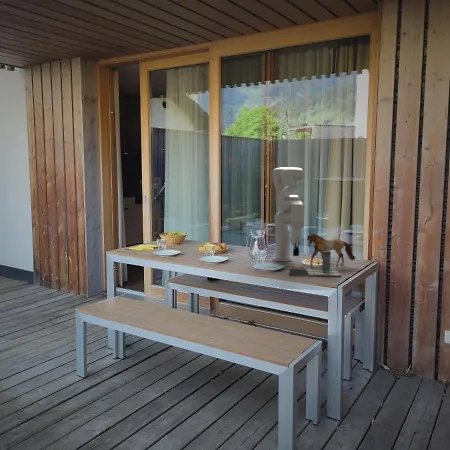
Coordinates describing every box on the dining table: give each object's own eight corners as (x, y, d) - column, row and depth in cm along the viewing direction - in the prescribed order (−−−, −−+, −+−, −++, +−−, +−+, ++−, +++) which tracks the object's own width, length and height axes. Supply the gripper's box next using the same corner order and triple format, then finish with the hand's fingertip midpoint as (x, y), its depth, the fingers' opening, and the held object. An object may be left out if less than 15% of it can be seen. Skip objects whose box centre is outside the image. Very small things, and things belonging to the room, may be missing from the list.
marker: (321, 271, 271) (322, 250, 269) (329, 271, 270) (330, 250, 269) (322, 273, 266) (323, 252, 264) (330, 273, 266) (331, 252, 264)
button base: (289, 271, 273) (289, 265, 273) (304, 271, 273) (304, 266, 272) (290, 275, 264) (290, 269, 264) (306, 275, 264) (306, 269, 263)
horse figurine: (306, 268, 282) (307, 234, 279) (303, 265, 289) (303, 232, 287) (356, 267, 285) (357, 234, 282) (351, 264, 292) (352, 232, 290)
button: (292, 269, 271) (292, 265, 271) (301, 270, 271) (301, 265, 270) (293, 271, 266) (293, 267, 266) (302, 272, 266) (302, 267, 265)
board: (305, 270, 276) (305, 268, 276) (336, 270, 275) (336, 269, 275) (308, 276, 261) (308, 275, 261) (341, 277, 260) (341, 275, 260)
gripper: (289, 222, 275) (288, 252, 278) (291, 226, 260) (290, 258, 264) (302, 222, 275) (301, 252, 278) (305, 226, 260) (304, 258, 263)
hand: (296, 255), depth 271 cm, fingers closed
